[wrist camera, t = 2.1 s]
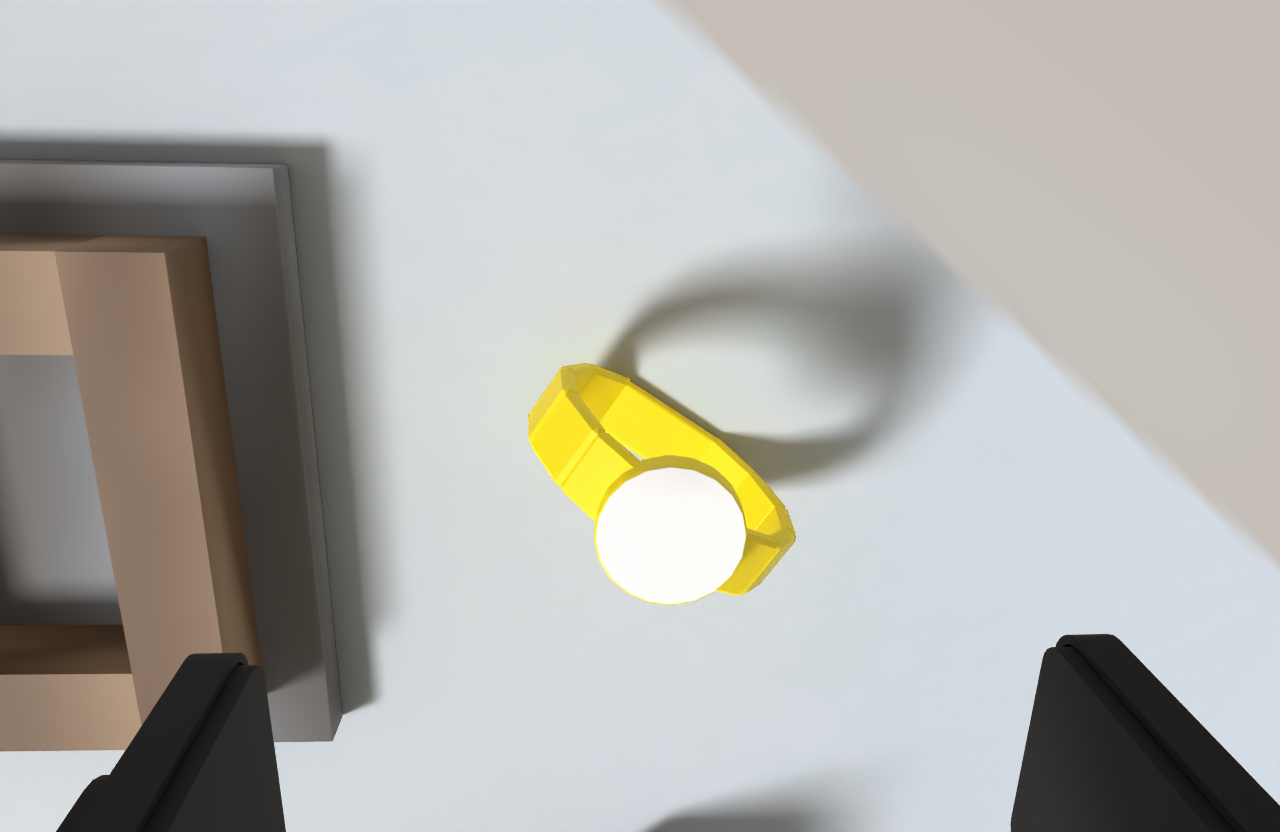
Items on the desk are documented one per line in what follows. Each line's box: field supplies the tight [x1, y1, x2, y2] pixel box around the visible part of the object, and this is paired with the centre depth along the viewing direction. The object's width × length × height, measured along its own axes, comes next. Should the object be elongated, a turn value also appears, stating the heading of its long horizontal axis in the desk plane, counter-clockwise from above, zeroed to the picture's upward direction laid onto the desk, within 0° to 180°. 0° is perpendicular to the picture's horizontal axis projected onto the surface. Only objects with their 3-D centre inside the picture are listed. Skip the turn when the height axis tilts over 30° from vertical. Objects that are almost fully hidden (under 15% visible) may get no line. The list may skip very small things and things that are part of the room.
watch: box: [528, 363, 796, 605], centre depth 20 cm, size 6×3×6 cm, turn 55°
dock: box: [0, 159, 342, 751], centre depth 21 cm, size 12×14×3 cm
